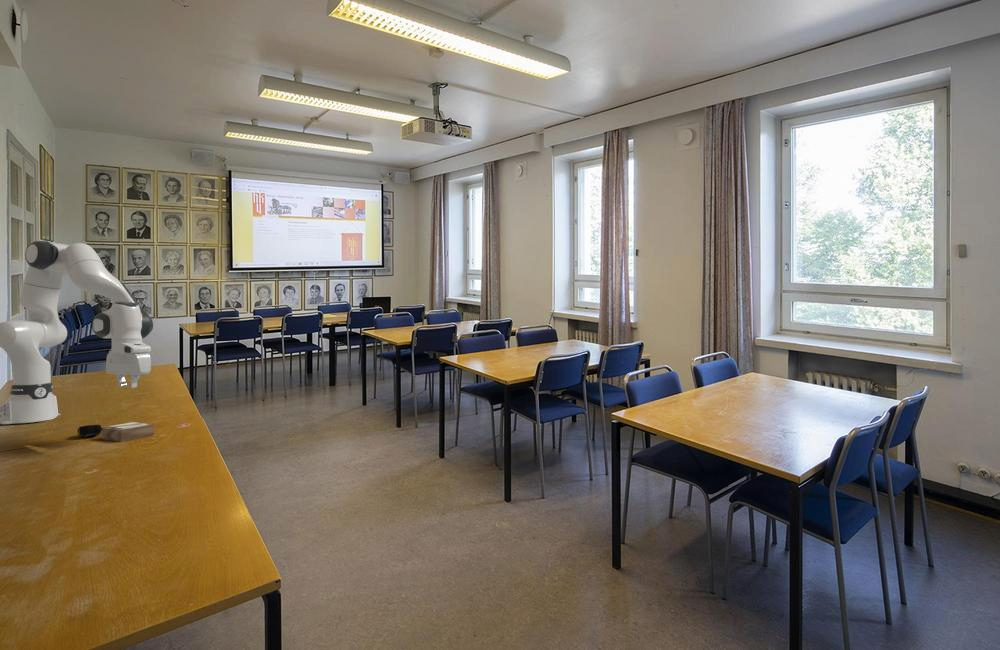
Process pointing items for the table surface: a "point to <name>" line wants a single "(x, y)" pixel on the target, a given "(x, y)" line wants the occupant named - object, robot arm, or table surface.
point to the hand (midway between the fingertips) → (128, 387)
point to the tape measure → (89, 430)
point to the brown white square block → (127, 431)
